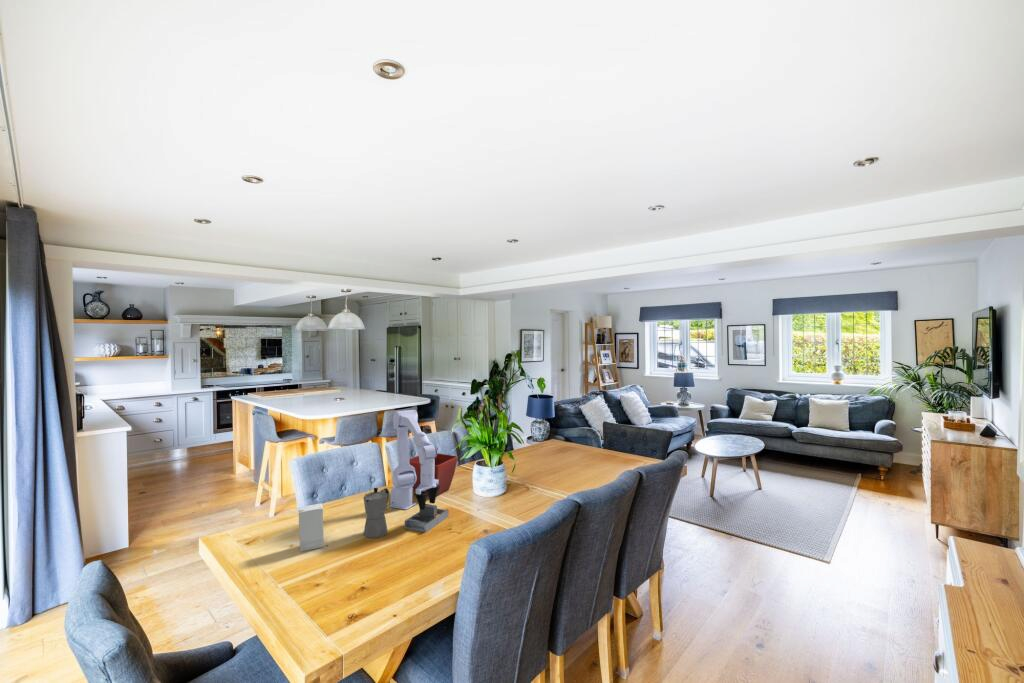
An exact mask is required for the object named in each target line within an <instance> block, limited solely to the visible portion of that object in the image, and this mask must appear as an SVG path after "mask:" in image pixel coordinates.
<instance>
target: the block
mask: <svg viewBox="0 0 1024 683" xmlns="http://www.w3.org/2000/svg"><path fill="white" fill-rule="evenodd" d="M437 509H438V505H435V504H431V503H428V504H427V503H426V505H425V509H424V510H421V509H420V508H419V511H418V512H419V516H425V517H431V518H434V516H435V515H437Z"/></svg>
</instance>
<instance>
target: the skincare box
mask: <svg viewBox="0 0 1024 683" xmlns="http://www.w3.org/2000/svg"><path fill="white" fill-rule="evenodd" d="M298 530H299V532H298V533H299V534H298V535H299V551H300V552H307V551H309V550H314V549H321V548H324V546H325V543H324V542H325V541H324V507H323V504H322V503H315V504H309V505H304V506H299V507H298Z"/></svg>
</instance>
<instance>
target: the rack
mask: <svg viewBox="0 0 1024 683" xmlns="http://www.w3.org/2000/svg"><path fill="white" fill-rule="evenodd" d="M449 511H450V510H449V509H448V508H446V509H441V508H437V515H435V516H434V518H431V517H425V516H419V511H418V512H416V513H415V514H414V515H413V514H412V515H411V517H408V518H407V519H405V520H404V529H405V530H410V531H414V532H418V533H424V534H425V533H428V532H429V531H430V530H431V529H433V528H435V527H436V526H437V525H439V524H440V523H442V522H443V521H444V520H446V519H447V518H449V516H450V515H449Z"/></svg>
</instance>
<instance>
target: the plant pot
mask: <svg viewBox="0 0 1024 683" xmlns="http://www.w3.org/2000/svg"><path fill="white" fill-rule="evenodd" d="M409 462H410V465H411V466H412V467H414V468H415V473H416V477H417V480H416V483H415V484H414V486H413V487H412V491H413V493H414V492H416V489H417V488H418V487H419V485H420V484H421V463H420V462H419V455H416V456H414V457H411V458H409ZM457 463H458V456H457V455H451V454H445V453H444V454H443V453H439V452H437V456H436V458H435V466H434V479H437V480H439V481H438V485H439V486H440V489H439V490H438V493H437V496H439V495H441V494H444V493H445V492H447V491H449V490H450V488H451V485H452V482H453V480H454V475H455V473H456V469H457V467H456V466H457ZM424 492H425V493H427V494H428V496H427V497H429V493H428V489H427V490H425V491H424ZM437 496H436V497H437Z"/></svg>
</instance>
